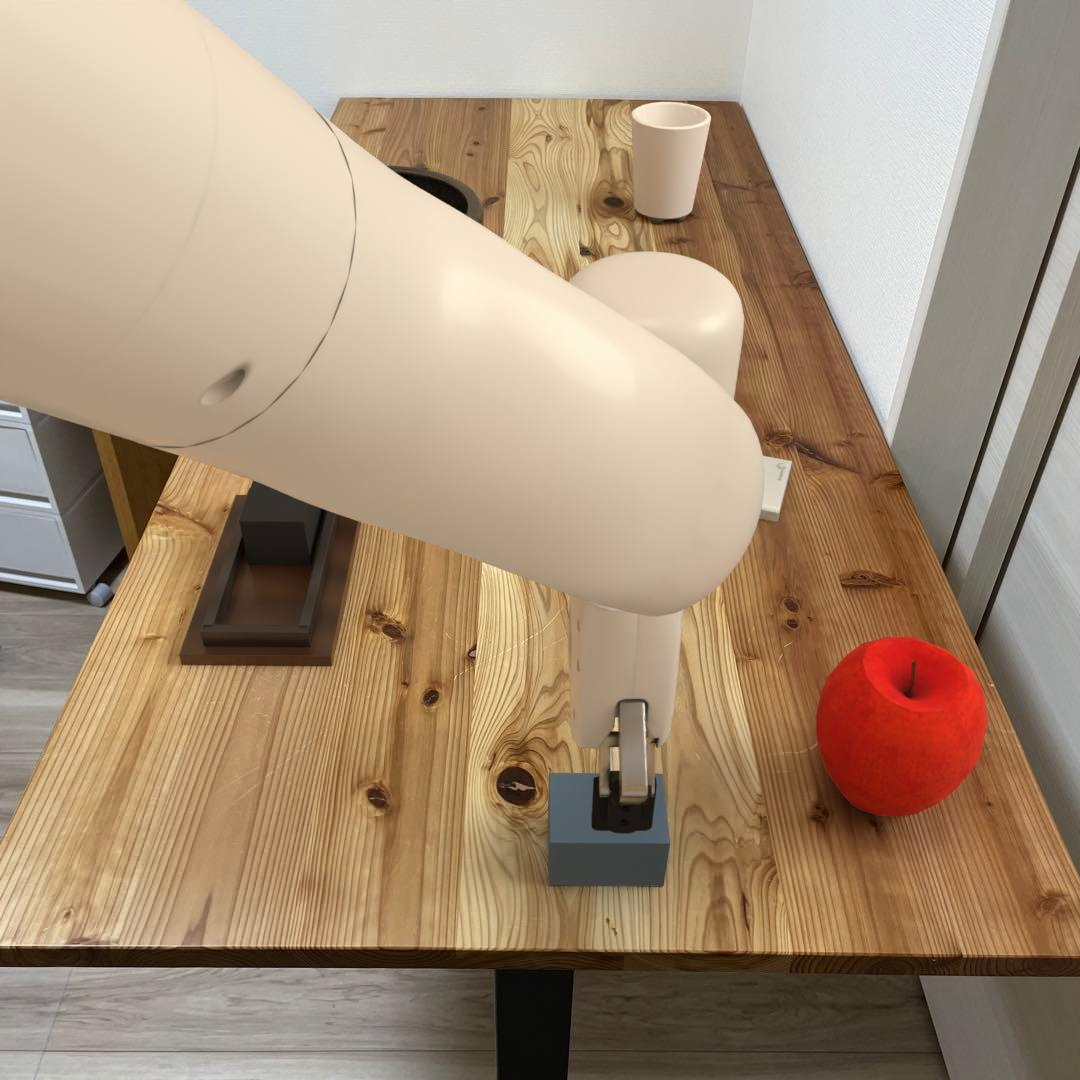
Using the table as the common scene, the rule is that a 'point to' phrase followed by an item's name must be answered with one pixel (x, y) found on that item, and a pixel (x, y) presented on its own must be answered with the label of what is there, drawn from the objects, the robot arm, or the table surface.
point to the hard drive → (774, 487)
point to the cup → (667, 158)
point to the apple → (900, 725)
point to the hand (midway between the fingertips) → (616, 752)
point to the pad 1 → (279, 527)
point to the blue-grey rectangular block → (601, 840)
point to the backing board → (272, 601)
